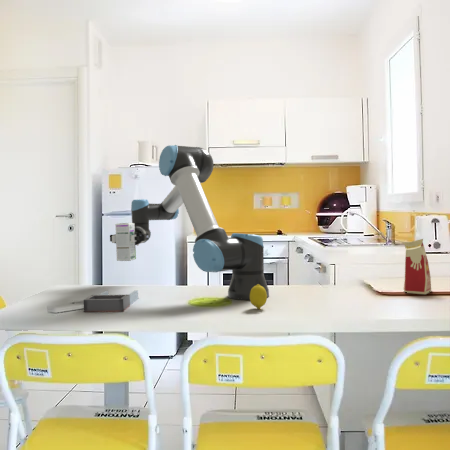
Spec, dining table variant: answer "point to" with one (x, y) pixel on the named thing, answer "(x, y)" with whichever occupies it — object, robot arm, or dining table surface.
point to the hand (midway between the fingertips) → (122, 239)
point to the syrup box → (125, 242)
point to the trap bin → (106, 303)
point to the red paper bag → (416, 268)
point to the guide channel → (132, 296)
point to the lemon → (258, 296)
